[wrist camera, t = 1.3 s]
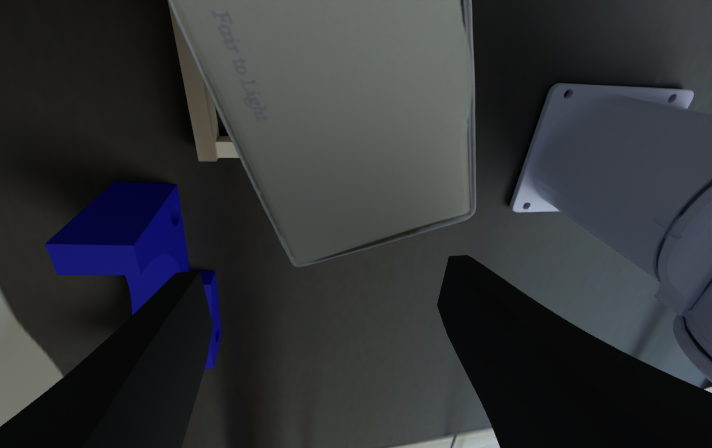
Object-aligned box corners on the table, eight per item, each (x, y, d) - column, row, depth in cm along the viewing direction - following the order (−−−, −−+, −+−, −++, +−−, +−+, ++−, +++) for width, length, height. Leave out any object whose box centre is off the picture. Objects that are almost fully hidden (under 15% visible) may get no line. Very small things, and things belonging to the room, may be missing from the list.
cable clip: (221, 332, 24) (203, 413, 19) (154, 334, 23) (117, 420, 18) (207, 184, 18) (174, 246, 13) (116, 180, 17) (45, 244, 12)
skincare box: (240, -18, 14) (92, -127, 4) (341, -46, 14) (473, -230, 4) (290, 126, 17) (285, 278, 7) (371, 104, 17) (482, 221, 7)
